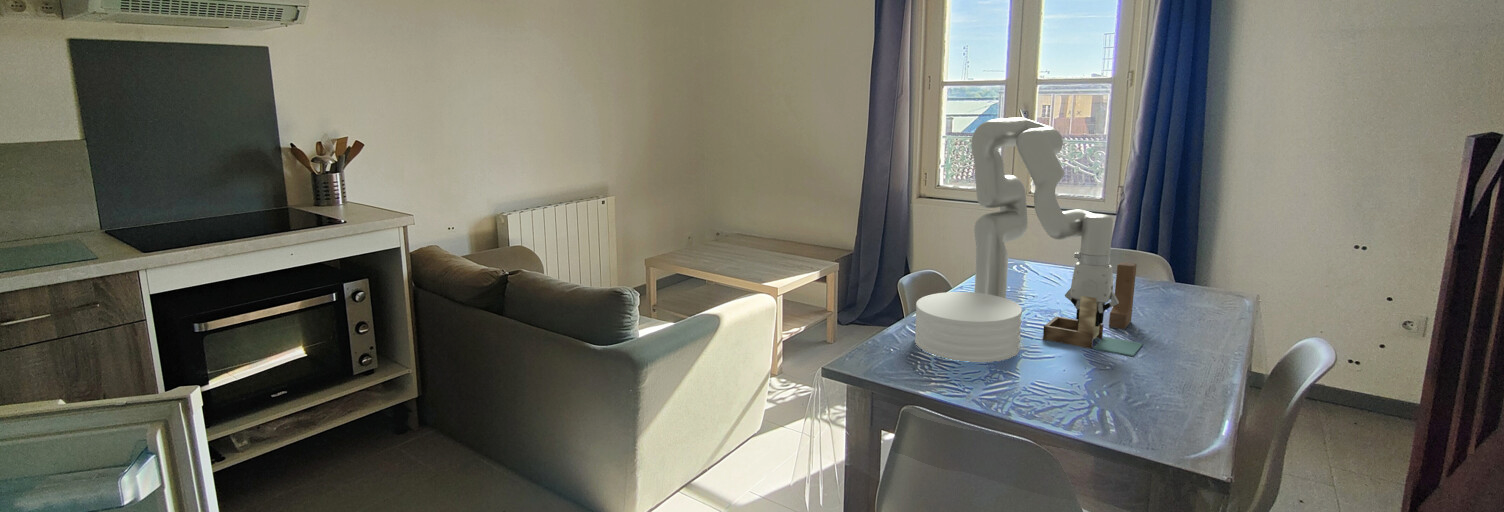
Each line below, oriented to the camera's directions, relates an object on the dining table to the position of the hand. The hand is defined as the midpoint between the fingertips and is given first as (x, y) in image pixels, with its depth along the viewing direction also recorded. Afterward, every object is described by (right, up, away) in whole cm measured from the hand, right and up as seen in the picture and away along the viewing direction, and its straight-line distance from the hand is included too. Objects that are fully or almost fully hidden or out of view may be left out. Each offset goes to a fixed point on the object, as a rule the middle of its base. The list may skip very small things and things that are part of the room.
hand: (1089, 323), depth 216 cm
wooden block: (+16, -2, +15) cm, 22 cm away
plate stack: (-34, -6, +1) cm, 35 cm away
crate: (-3, -5, +4) cm, 7 cm away
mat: (+6, -6, -4) cm, 10 cm away
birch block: (0, -4, +1) cm, 4 cm away
